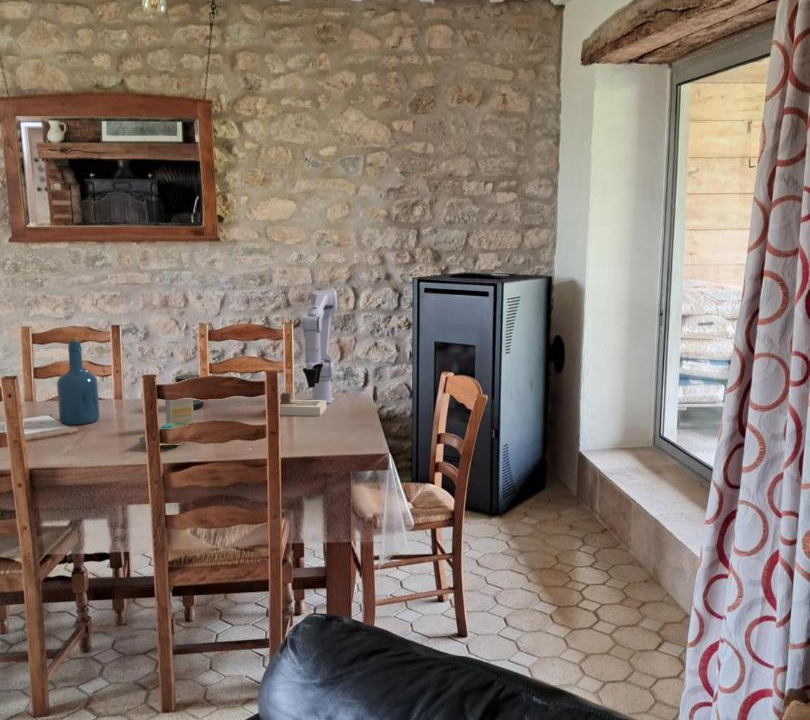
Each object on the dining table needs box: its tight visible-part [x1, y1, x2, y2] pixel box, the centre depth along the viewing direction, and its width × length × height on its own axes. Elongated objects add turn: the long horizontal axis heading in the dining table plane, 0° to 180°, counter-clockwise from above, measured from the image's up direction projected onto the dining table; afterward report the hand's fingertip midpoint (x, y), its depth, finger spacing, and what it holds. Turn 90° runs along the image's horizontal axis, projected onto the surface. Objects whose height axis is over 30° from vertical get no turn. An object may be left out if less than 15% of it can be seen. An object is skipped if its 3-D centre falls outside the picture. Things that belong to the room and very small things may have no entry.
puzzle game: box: [138, 422, 189, 448], centre depth 260 cm, size 12×5×20 cm
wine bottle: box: [56, 336, 101, 426], centre depth 285 cm, size 14×13×30 cm
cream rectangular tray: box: [279, 399, 327, 417], centre depth 300 cm, size 12×20×3 cm, turn 85°
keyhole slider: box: [280, 392, 292, 404], centre depth 300 cm, size 6×6×6 cm
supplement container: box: [174, 374, 205, 411], centre depth 307 cm, size 10×10×12 cm
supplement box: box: [164, 399, 195, 424], centre depth 276 cm, size 8×5×13 cm, turn 124°
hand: (313, 385), depth 301 cm, fingers open, 7 cm apart
